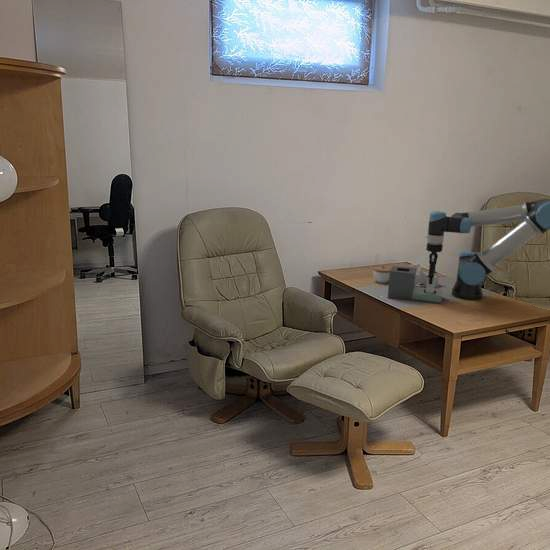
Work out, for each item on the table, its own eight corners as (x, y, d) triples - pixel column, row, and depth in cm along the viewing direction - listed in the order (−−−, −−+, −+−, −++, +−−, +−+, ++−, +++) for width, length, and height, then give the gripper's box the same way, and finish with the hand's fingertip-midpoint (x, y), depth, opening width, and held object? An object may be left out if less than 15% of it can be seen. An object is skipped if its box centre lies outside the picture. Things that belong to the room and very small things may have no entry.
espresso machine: (442, 297, 277) (444, 271, 273) (441, 304, 266) (443, 276, 262) (390, 291, 285) (392, 265, 281) (387, 297, 274) (389, 271, 270)
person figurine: (430, 262, 304) (410, 261, 293) (448, 272, 295) (428, 271, 284) (421, 283, 308) (401, 283, 297) (438, 293, 299) (419, 293, 288)
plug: (434, 296, 274) (437, 275, 271) (434, 299, 271) (436, 277, 268) (425, 295, 276) (427, 275, 273) (425, 298, 272) (427, 276, 269)
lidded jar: (368, 280, 305) (369, 264, 302) (381, 278, 311) (382, 262, 308) (382, 285, 296) (384, 268, 294) (395, 282, 303) (397, 266, 300)
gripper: (428, 238, 276) (424, 281, 282) (425, 246, 258) (421, 292, 264) (443, 240, 274) (439, 283, 280) (442, 247, 255) (437, 294, 261)
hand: (430, 287), depth 272 cm, fingers open, 7 cm apart
